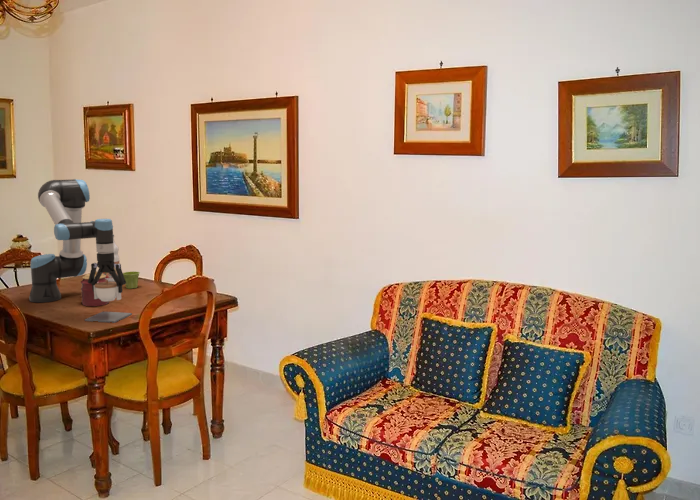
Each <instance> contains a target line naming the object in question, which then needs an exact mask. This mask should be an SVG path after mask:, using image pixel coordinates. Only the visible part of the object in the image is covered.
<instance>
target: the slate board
mask: <svg viewBox="0 0 700 500" xmlns="http://www.w3.org/2000/svg"><path fill="white" fill-rule="evenodd" d="M132 315H133V313H131V312H119V311H103V310H102V311H101V312H98V313H95V314H93V315H92V316H90V317H88V318H85V319H84V321H85V322H93V321H98V322H97V323H110V322H112V323H115V324H116V323H118V322H119V320H120V321H122V320H124V319H126V318H128V317H130V316H132ZM112 323H111V324H112Z"/></svg>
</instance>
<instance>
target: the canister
mask: <svg viewBox="0 0 700 500" xmlns="http://www.w3.org/2000/svg"><path fill="white" fill-rule="evenodd" d="M97 271H98V270H96V273H95V276H96V274H97ZM89 276H90V272H89V273H85V275H84V276H83V275H82V280H81V281H80V284H81V288H80V289H81V303H82V306H86V307H99V306H105V305H107V304H109V303H110V301H101V300H100V299H99V298H98V299H94V292H93V291H92V284H89V283H88V280H89ZM105 277H106V275H104V274H103V273H102V275H101V276H100V278H99V280H98V282H97V283H100V282H106V280H107V279H106V278H105ZM94 278H95V277H94Z"/></svg>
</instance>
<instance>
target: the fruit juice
mask: <svg viewBox="0 0 700 500" xmlns="http://www.w3.org/2000/svg"><path fill="white" fill-rule="evenodd" d="M113 243H114V251H113V253H114V263H115V264H120V256H119V246H118V245H117V243H116V242H115V234H113ZM114 270H115V271H116V268H115V267H114ZM102 274H104V275H106V277H105V278H106V279H107V280H108V282H115V281H114V279H113V277H112V276H111V274H109V273H106V272H103V273H102ZM116 274H117V271H116ZM117 275H118V274H117Z"/></svg>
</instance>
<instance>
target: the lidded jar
mask: <svg viewBox="0 0 700 500" xmlns="http://www.w3.org/2000/svg"><path fill="white" fill-rule="evenodd" d="M116 286H118V285H117V284H116V282H108V280H106V282H100V283H97V284H95V292H96V295H97V297H98V298H99V299H100V300H101V301H109V302H113V301H115V300H116V299H117V295H116Z"/></svg>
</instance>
